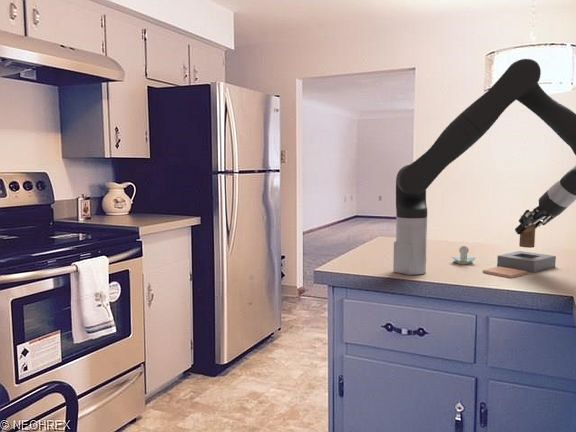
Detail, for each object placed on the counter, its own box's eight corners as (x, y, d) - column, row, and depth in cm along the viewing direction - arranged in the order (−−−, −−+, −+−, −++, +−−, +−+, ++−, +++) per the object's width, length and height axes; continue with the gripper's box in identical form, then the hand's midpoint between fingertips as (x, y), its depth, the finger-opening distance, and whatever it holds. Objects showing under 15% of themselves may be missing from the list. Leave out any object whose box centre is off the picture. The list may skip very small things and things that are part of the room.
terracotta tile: (511, 278, 144) (511, 275, 144) (482, 272, 151) (482, 270, 151) (526, 273, 149) (526, 271, 149) (498, 268, 156) (498, 266, 156)
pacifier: (450, 261, 169) (452, 264, 164) (451, 243, 169) (453, 246, 163) (473, 262, 168) (476, 265, 162) (473, 244, 167) (476, 246, 162)
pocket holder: (533, 272, 151) (534, 261, 150) (497, 266, 160) (497, 255, 160) (555, 266, 159) (555, 256, 159) (519, 260, 169) (519, 250, 168)
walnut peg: (530, 248, 156) (531, 216, 155) (516, 246, 159) (518, 215, 158) (536, 246, 158) (538, 216, 157) (523, 244, 162) (525, 214, 161)
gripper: (566, 187, 153) (529, 221, 165) (536, 188, 147) (500, 224, 159) (581, 205, 149) (543, 239, 161) (551, 207, 143) (513, 242, 155)
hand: (522, 231), depth 160 cm, fingers closed on walnut peg, 4 cm apart
